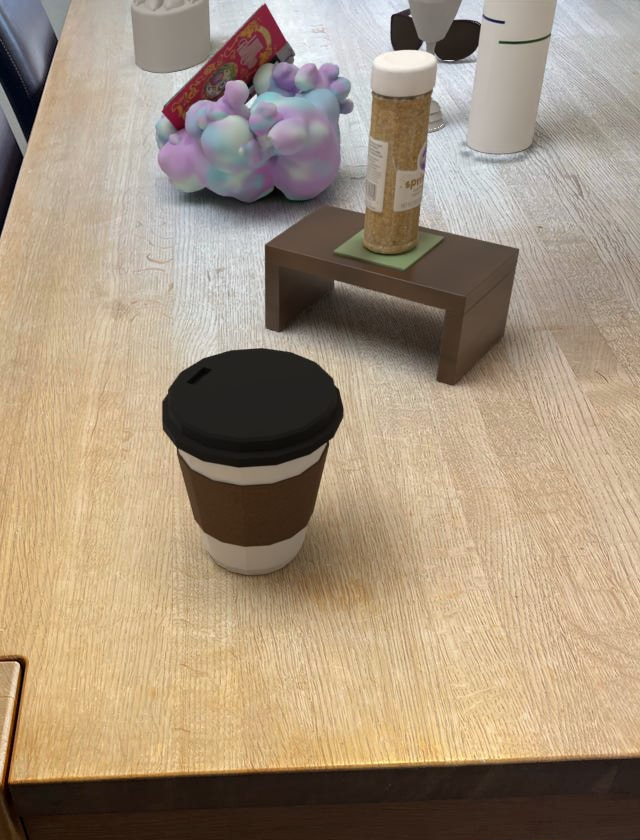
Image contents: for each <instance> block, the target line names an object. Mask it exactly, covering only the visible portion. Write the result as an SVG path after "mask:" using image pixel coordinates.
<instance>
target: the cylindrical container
mask: <svg viewBox="0 0 640 840" xmlns="http://www.w3.org/2000/svg"><path fill="white" fill-rule="evenodd" d="M557 4H558V0H483V7H482V15H481V22H480V23H481V30H480V37H479V45H478V47H477V53H476V61H475V69H474V76H473V85H472V91H471V100H470V108H469V115H468V122H467V131H466V137H465V145H466V146H467V147H469V148H470V149H472V150H474V151H476V152H481V153H483V154H484V153H485V154H496V155H503V154H513V153H518V152H521V151H524V150H527V149H528V148H530V147H531V146H532V145H533V140H534V135H535V129H536V123H537V117H538V111H539V106H540V100H541V95H542V88H543V83H544V78H545V72H546V66H547V61H548V54H549V48H550V44H551V38H552V30H553V26H554V21H555V14H556V8H557Z"/></svg>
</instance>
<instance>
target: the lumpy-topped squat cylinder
mask: <svg viewBox="0 0 640 840" xmlns="http://www.w3.org/2000/svg"><path fill="white" fill-rule="evenodd" d="M130 17H131V27H132V38H133V49H134V60H135V61H134V63H135V65H136V66H138V68H140V69H141V70H144V71H145V72H146V71H147V72H150V73H156V74H165V73H166V74H167V73H174V72H179V71H182V70H187V69H189V68H192V67H195V66H197V65H199V64H201V63H203V62H205V61H206V59H207V58H208V57H209V56H210V54H211V50H212V45H211V44H212V43H211V20H210V19H211V17H210V0H132V2H131V3H130Z"/></svg>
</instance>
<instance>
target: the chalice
mask: <svg viewBox="0 0 640 840" xmlns="http://www.w3.org/2000/svg"><path fill="white" fill-rule="evenodd" d="M407 2H408V6H409V8H410V12H411V15H410V17H412V19H413V22H414V25H415V28H416V31H417V34H418V37H419V39H421V40H423V41H424V43H425V48H426V49H425V52H428V53H430V54H432V55H434V56H435V57H436V54H435V53H434V48H435V45H436V42H437V41H440V40H442V39H443V38H444V37H445V35H446V33H447V32H448V30H449V28H450V26H451V24H452V22H453V20H455V18H456V16H457V15H458V12H459V9H460V7H461V4H462V2H463V0H407ZM443 116H444V115H443V113H442V107H441V105H440V104H439V102H438V101H436V100H434V99H433V97H432V96H431V105H430V114H429V125H428V133H432V132H437V131H439V130H442V129H443V128H445V125H446V122H445V120H444V118H443ZM442 124H444V125H442ZM441 125H442V126H441ZM440 126H441V127H440ZM438 127H439V128H438ZM434 128H436V129H434ZM429 129H430V130H429ZM431 129H432V130H431Z"/></svg>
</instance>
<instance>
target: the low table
mask: <svg viewBox="0 0 640 840" xmlns="http://www.w3.org/2000/svg"><path fill="white" fill-rule="evenodd" d="M364 223H365V212H360V211H356V210H351V209H346V208H342V207H339V206H333V205H329V204H324V203H323V204H321V205H320V206H318V207H317V208H315V209H314V210H313V211H311V212H310V213H308V214H306V215H305V216H304V217H302V218H301V219H300V220H298V221H297V222H295V223H294V224H292V225H291V226H289V227H287V228H286V229H285V230H283V231H282V232H281V233H279V234H278V235H275V237H274V238H272V239H270V240H269V241H267V242H266V243H265V244H264V328H266V329H269V330H272V331H275V332H277V333H279V332H281V331H282V330H283V329H284V328H286V327H287V326H288V325H290V324H291V323H292V322H293V321H296V319H298V318H299V317H300V316H301V315H303V314H304V313H305V312H307V311H308V310H309V309H311V308H312V307H313V306H314V305H316V304H317V303H318V302H319V301H321V300H323V298H325V297H326V296H328V295H329V294H330V293H331V292H332V291H334V289H335V281H336V282H339V283H342V284H346V285H350V286H354V287H358V288H362V289H366V290H369V291H373V292H376V293H381V294H385V295H387V296H392V297H395V298H399V299H403V300H406V301H410V302H413V303H417V304H422V305H425V306H429V307H432V308H435V309H439V310H443V311H444V317H443V318H444V319H443V326H442V333H441V341H440V348H439V349H440V350H439V356H438V364H437V371H436V381H437V382H440V383H444V384H447V385H451V386H454V385H455V384H456V383H457V382H458V381H459V380H460V379H461V378H462V377H463V376H464V375H465V374H466V373H467V372H468V371H470V369H471V368H472V367H474V365H476V364H477V362H479V361H480V360H481V359H482V358H483V357H484V356H485V355H486V354H487V353H488V352H489V351H490V350H491V349H492V348H493V347H494V346H495V345H496V344H497V343H498V342H499V341H501V340H502V338H503V337H504V335H505V333H506V332H505V331H506V327H507V320H508V315H509V309H510V304H511V297H512V293H513V287H514V281H515V277H516V270H517V264H518V260H519V254H520V248H518V247H514V246H508V245H504V244H499V243H496V242H492V241H488V240H482V239H478V238H474V237H469V236H465V235H461V234H457V233H452V232H448V231H443V230H438V229H434V228H430V227H425V226H422V225H419V228H418V233H419V242H418V243H417V245H416V246H415V247H413V248H412V249H411V250H408V251H405V252H402V253H397V254H382V253H375V252H373V251H371V250H369V249H367V248H366V247H365V246H364V245H363V243H362V236H363V233H364Z"/></svg>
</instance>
